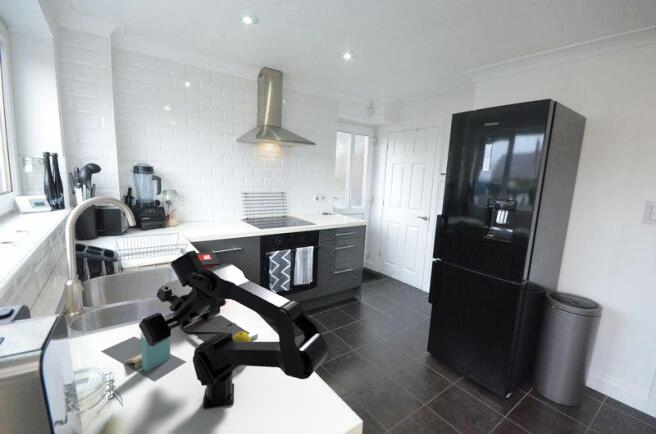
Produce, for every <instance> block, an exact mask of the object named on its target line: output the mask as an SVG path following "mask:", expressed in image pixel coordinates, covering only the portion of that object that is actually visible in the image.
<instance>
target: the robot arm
mask: <svg viewBox="0 0 656 434" xmlns="http://www.w3.org/2000/svg"><path fill="white" fill-rule="evenodd" d="M197 253H198V252H197V251H196V250H194V249H193V250H190V251H186V253H185V254H183V255H181V256H179V257H177V258H176V259H174V260H172V261H171V263H170V267H171V268H172V270H173V272H174V274H175V276H176V277H177V279H175V280H173V281H169V282H166V283H165V284H164V285H161V287H160V288H158V290H157V292H156V297H157V299H158V300H160V302H161V303H165V302H168V303H169V304H170V306H168V308H169V310H170V311H171V312H173V317H171V318H169V319H165V317H164V316H163V313H160V312H156V313H153V314H151V315H148V316H146V317H144V318H143V319H141V321H140V322H139V323H138V324H139V325H138V327H139V329H140V331H141V333H143V335H144V337H145V339H146V340H147V342H148V344H149V346H155V345H157V344H159V343H161V342H163V341H165V340H167V339H168V338H169V337H170V338H171V336H172V332H171V331H172V330H173V329H177V328H179V327H178V326H180V325H182V327H183V328H185V327H187V326H189V325H191V324H195V323H198V322H202V321H205V320H207V319H209V318H211V317H213V316H215V315H217V314H218V313H219V312H220V313H221V308H222V307H223V306H226V305H227V304H226V300H231V301H233V302H234V301H235V302H236V303H238V304H240V305H242V306H243V307H246V308H247V309H249V310H250V311H253V312H254V313H257V314H259V315H260V316H262V317H264V318H266V319H268V320H270V321H272V322H274V324H275V327H276V328H277V331H278V341H251V342H236V341H235V340H234V339H233V337H232V332H229V333H224V332H220V333H218V334H217V335H215V336H213V337H211V338H210V339H208V340H206V341H205V342H203V343H201V344H199V347H198V346H196V348H195V349H194V351H193V357H192V363H193V364H192V365H193V367H194V370H195V375H196V380H197V381H200V383H201V384H200V385H201V386H203V387H205V386H206V388H205V391H204V392H205V393H204V398H203V404H202V408H203V409H204V410H205V409H211V408H212V409H213V408H217V407H222V406H224V407H225V406H229V405H233V404H234V403H235V383H234V382H233V371H234V370H236V369H237V368H238V367H241V366H244V367H261V368H262V367H263V368H278V369H280V370H281V371H282V372H283V373H284V374H285V376H288V377H291V378H295V379H298V380H299V379H300V380H307V379H309V378H310V377H311V376H312V375H313V374H314V372H315V371H316V370H317V369H318V368H319V367H320V365H322V363H323V362H324V361H325V360H326V358H327V356H328V355H329V347H328V344H327V342H326V340H325V339H324V338H323V337H324V336H323V335H322V334H321V331H320V329H319V328H318V325H317V324H316V323H315V322H314V321H313V320H312V319H311V318H310V317H309V316H307V314H305V312H304V310H303V307H302V305H301V303H299V302H298V301H295V300H289V299H288V298H286V297H283V296H281V295H279V294H277V293H275V292H273V291H271V290H269V289H267V288H265V287H263V286H260V285H259V284H257V283H256V282H255V283H254V282H252V281H250V280H249V279H247V278H246V277H245V275H244V272H243V271H242V270H240V269H239V268H238V267H236V266H235V265H233V264H232V263H227V262H226V263H224V264H220V266H213V267H209V268H206V269H205V267H204V265H203V264H202V262H201V261H200V259H199V257H198V255H197ZM192 286H195V287H194V288H193V289H192V290H191V287H192ZM169 325H170V326H169ZM294 325H295V326H294ZM294 327H297V328H298V329H299V330H300V331H302V332H303V334H300V335H298V336H296V337H295V328H294Z"/></svg>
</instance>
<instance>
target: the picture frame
mask: <svg viewBox="0 0 656 434" xmlns="http://www.w3.org/2000/svg"><path fill="white" fill-rule="evenodd" d="M177 328H178V329H177V331H178V332H179V333H180V334H182V335H183V336H184V337H185V338H186V339H188V340H189V341H190V342H191V343H193V344H194V345H195V346H196V347H199V344H201V343H203V342H205V341H206V340H208V339H210V338H211V337H213V336H215V335H217V334H218V333H220V332H224V333H229V332H232V337H234V335H235V334H237V333H239V332H241V331H242V332H245V333H247V334H248V335H249V336H250V339H251V341H254V340H255V339H257V338H258V337H259V333H258V332H256V331H255V330H253V329H252V328H250V327H248V326H247V325H245V324H244V323H242V322H241V321H238V320H237V319H235V318H233V317H232V316H230V315H229V314H226V313H225V312H221V311H220V313H218V314H217V315H215V316H213V317H211V318H209V319H207V320H205V321H202V322H198V323H195V324H191V325H189V326H187V327H185V328H183V327H182V325H180V326H178V327H177Z"/></svg>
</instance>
